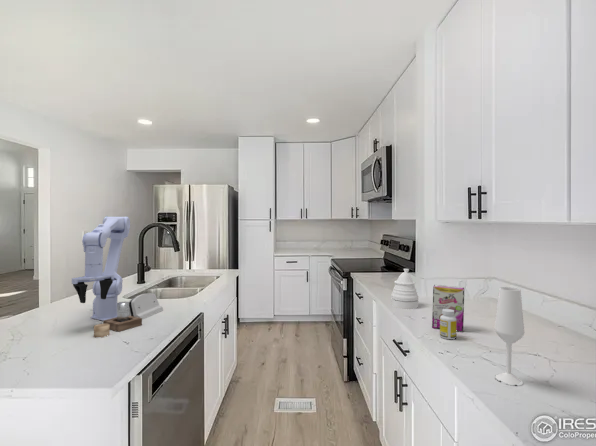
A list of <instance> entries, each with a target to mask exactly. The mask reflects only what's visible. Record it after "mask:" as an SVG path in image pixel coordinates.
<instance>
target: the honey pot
mask: <svg viewBox="0 0 596 446" xmlns="http://www.w3.org/2000/svg"><path fill="white" fill-rule="evenodd" d="M403 271H404V272H402V273H400V275H399V276H398V277H397V279H396V280H394V282H393V283H394V287H393V289H392V292H391V294H390V297H391V298H390V305H391V307H393V308H396V309H402V310H414V309H413V308H416V309H418V308H419V295H418V292H417V288H416V286H415V285H416V282H415V281H414V280H413V278H412V277H411V275H410V274H409V271H410V269H409V268H403ZM417 307H418V308H417Z"/></svg>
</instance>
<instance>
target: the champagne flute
mask: <svg viewBox="0 0 596 446" xmlns="http://www.w3.org/2000/svg"><path fill="white" fill-rule="evenodd" d="M522 301H523V300H522V291H521V289H520V288H518V287H517V288H516V287H508V286H501V287H499V289H498V296H497V305H496V314H495V320H494V321H495V322H494V331H495V334H496V335H497V336H498V337H499V338H500V339H501V340H502V341H503V342H505V344H506V345H505V347H506V350H505V351H506V353H505V356H506V357H505V372H501V373H498V375H497V374H495V375H496V378H497V379H498V380H501V381H503V382H505V383H508V384H519V383H520V382H521V379H520V378H518V377H517V376H516V375H514V374H513V373H512V347H513V346H512V345H513V344H515V343H516V342H518V341H519V340H521V339H522V338H524V335H525V323H524V311H523V302H522Z"/></svg>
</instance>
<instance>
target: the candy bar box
mask: <svg viewBox="0 0 596 446" xmlns="http://www.w3.org/2000/svg"><path fill="white" fill-rule="evenodd" d="M442 309H451V310H454V317H455V318H456V330H458V331H457V332H459V331H463V332H464V324H465V323H464V322H465V321H464V320H465V319H464V317H465V313H464V312H465V287H462V286H452V285H445V284H444V285H442V284H434V285H433V288H432V317H431V318H432V320H431V322H432V323H431V327H432V329H439V330H440V316H442V315H443V314H442Z"/></svg>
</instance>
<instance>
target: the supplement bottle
mask: <svg viewBox="0 0 596 446" xmlns="http://www.w3.org/2000/svg"><path fill="white" fill-rule="evenodd" d="M442 314H443V315H442V316H440V329H439V336H440V338H442V339H444V340H449V339H453V340H456V339H457V331H456V318H455V317H454V310H451V309H442ZM455 338H456V339H455Z"/></svg>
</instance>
